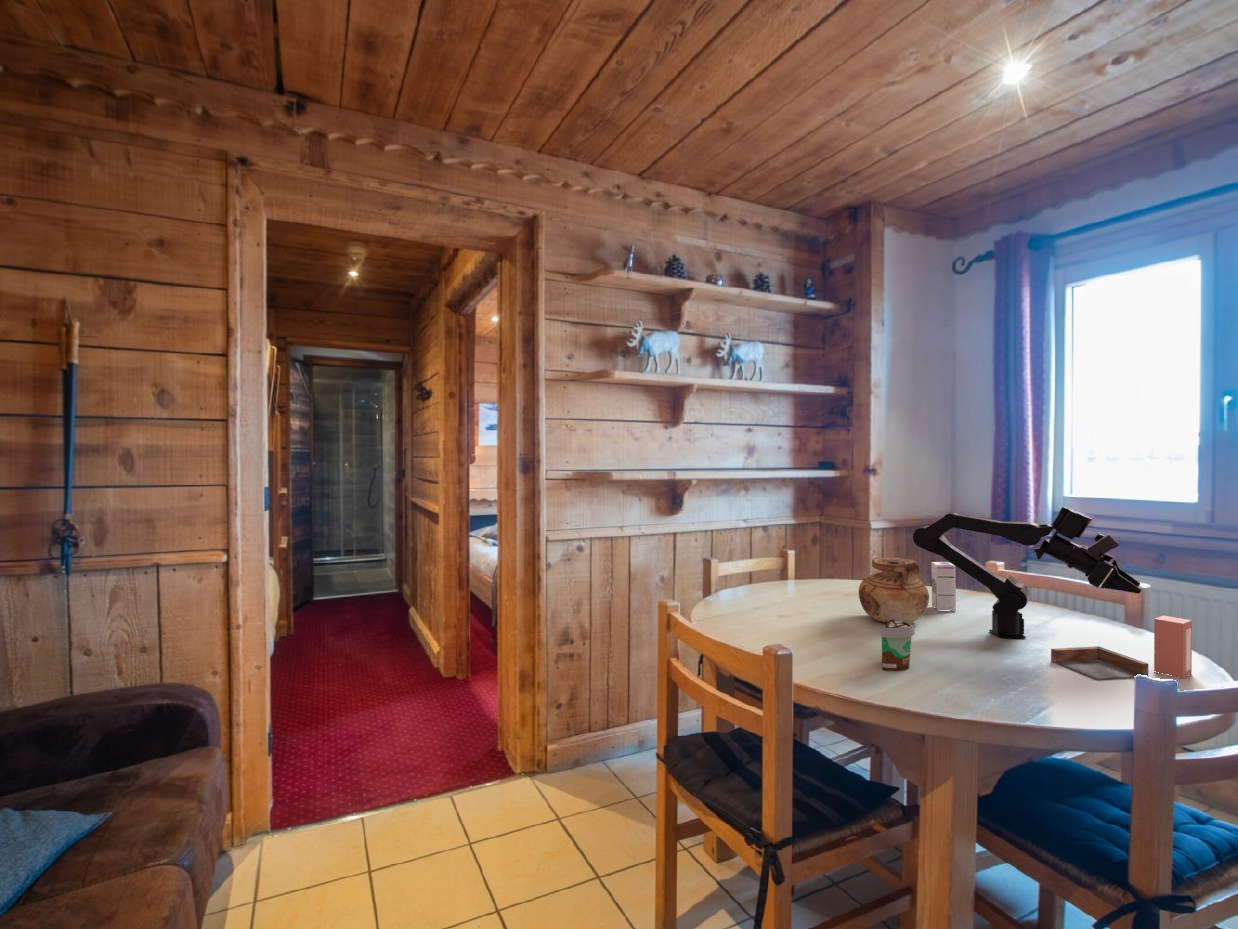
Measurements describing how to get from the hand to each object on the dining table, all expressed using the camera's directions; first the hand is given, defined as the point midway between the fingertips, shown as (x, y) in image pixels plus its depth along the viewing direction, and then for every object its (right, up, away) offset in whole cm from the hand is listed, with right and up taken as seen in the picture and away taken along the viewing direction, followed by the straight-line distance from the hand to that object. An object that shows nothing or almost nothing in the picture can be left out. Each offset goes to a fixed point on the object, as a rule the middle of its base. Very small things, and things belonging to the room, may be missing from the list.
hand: (1139, 588), depth 153 cm
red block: (-3, -16, -13) cm, 21 cm away
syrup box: (-24, -16, +46) cm, 54 cm away
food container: (-61, -17, -6) cm, 63 cm away
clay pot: (-45, -16, +33) cm, 58 cm away
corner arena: (-18, -16, -10) cm, 26 cm away
